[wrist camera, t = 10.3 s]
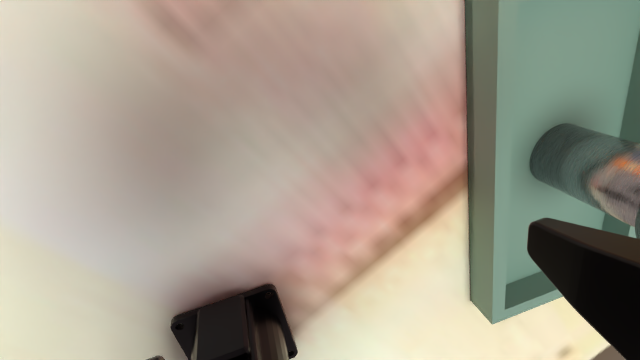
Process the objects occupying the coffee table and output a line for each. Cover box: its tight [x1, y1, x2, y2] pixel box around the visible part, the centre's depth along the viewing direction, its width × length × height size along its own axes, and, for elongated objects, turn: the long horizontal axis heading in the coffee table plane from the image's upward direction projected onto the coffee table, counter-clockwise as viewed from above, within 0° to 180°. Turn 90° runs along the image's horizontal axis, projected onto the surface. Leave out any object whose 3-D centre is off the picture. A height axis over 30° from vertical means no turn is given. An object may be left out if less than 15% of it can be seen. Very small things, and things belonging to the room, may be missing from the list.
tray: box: [465, 0, 640, 324], centre depth 23 cm, size 22×12×2 cm, turn 13°
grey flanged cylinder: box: [530, 123, 640, 239], centre depth 20 cm, size 5×5×8 cm
